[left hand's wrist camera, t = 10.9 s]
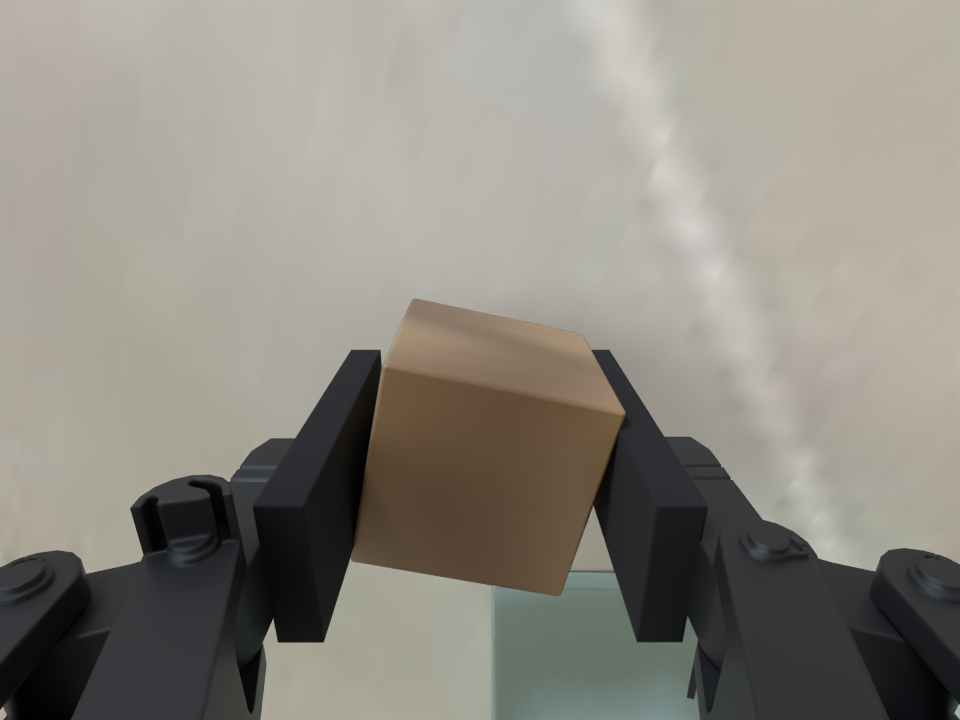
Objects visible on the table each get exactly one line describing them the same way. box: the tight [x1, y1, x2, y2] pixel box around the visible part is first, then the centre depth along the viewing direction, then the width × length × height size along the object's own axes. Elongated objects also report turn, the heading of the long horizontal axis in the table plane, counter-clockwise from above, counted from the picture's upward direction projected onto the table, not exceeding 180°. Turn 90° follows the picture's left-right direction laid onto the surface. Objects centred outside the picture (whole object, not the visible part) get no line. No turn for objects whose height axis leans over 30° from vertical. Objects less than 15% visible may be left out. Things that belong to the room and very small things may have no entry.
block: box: [351, 299, 626, 596], centre depth 13 cm, size 4×4×4 cm
